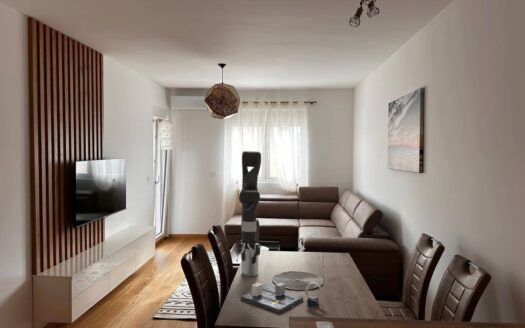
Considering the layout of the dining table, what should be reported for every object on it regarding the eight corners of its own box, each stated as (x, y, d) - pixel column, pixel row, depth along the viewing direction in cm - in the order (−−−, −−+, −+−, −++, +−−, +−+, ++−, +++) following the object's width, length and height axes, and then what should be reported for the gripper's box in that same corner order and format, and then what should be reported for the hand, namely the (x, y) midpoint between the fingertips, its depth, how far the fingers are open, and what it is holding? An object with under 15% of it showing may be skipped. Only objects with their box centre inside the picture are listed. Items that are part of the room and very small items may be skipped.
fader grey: (275, 294, 186) (275, 284, 186) (280, 292, 190) (280, 282, 190) (279, 296, 185) (280, 286, 184) (285, 293, 188) (285, 283, 188)
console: (240, 299, 185) (240, 295, 185) (265, 288, 201) (265, 284, 201) (279, 313, 170) (279, 309, 170) (303, 300, 186) (303, 296, 186)
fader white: (251, 295, 186) (252, 284, 185) (257, 292, 189) (257, 282, 189) (256, 296, 184) (256, 286, 183) (262, 293, 187) (262, 284, 187)
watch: (305, 301, 185) (306, 279, 185) (321, 303, 182) (322, 281, 182) (303, 305, 180) (303, 282, 180) (319, 308, 177) (320, 285, 177)
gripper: (233, 228, 190) (233, 261, 191) (255, 232, 182) (254, 266, 182) (243, 226, 196) (242, 257, 197) (264, 230, 187) (264, 263, 188)
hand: (248, 262), depth 190 cm, fingers open, 6 cm apart
